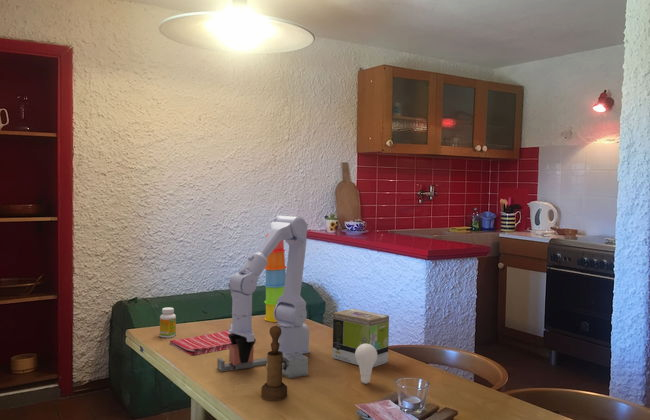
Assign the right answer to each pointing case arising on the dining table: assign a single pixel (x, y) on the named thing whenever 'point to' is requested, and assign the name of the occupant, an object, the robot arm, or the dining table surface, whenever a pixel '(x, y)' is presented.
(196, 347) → the dish towel
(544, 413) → the dining table surface
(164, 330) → the supplement bottle
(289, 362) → the grey block with hole
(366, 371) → the lightbulb
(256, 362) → the rail
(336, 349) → the tea box
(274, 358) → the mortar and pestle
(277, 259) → the stacking cups
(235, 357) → the block
